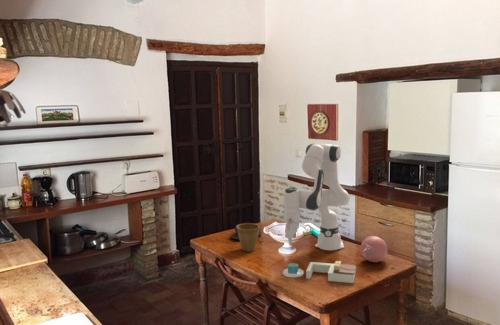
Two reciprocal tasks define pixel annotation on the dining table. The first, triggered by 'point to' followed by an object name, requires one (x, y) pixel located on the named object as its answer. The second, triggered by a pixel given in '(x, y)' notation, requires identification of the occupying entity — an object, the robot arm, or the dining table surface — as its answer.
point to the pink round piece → (374, 249)
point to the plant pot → (248, 236)
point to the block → (293, 268)
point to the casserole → (237, 232)
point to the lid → (343, 268)
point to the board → (329, 272)
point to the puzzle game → (312, 229)
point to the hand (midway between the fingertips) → (292, 240)
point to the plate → (290, 275)
